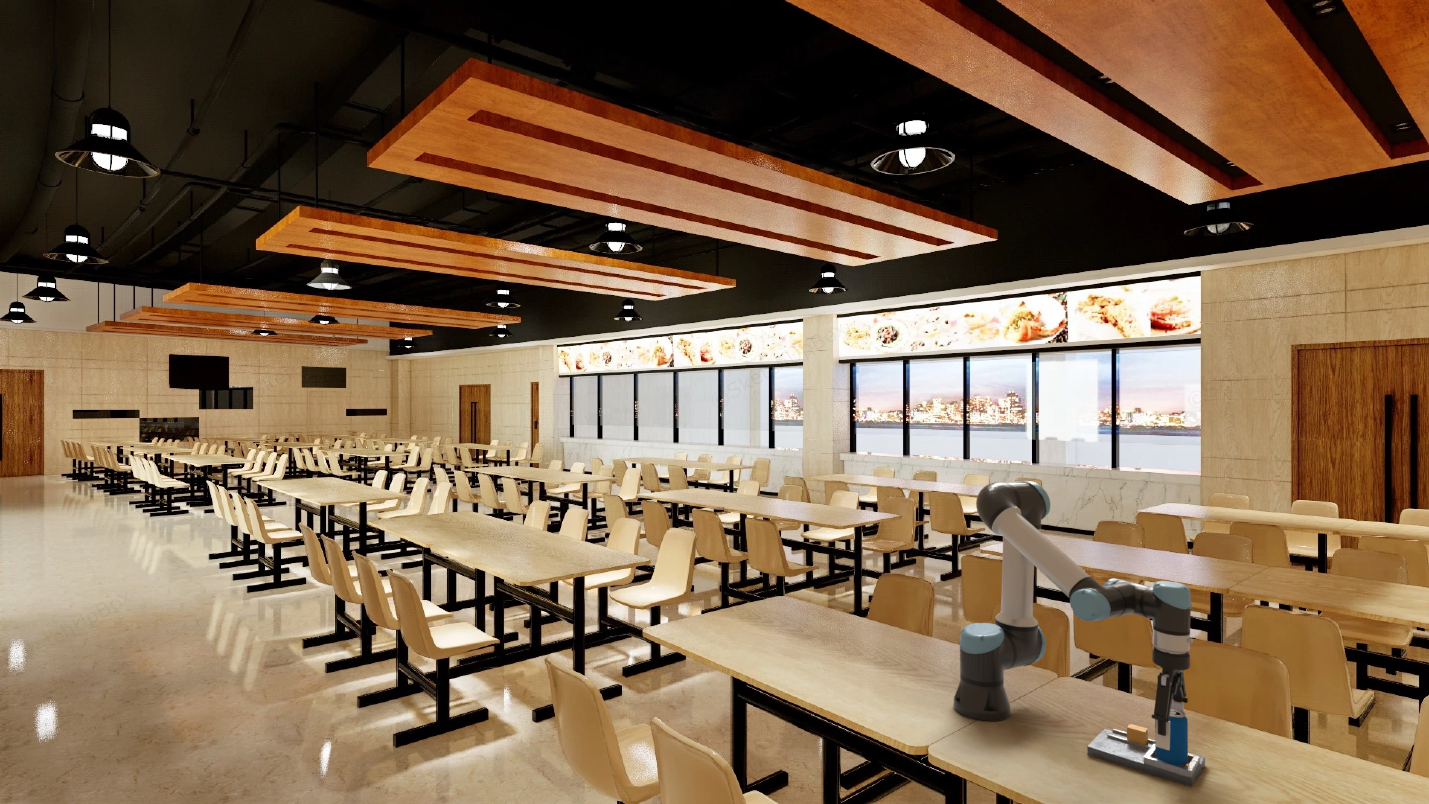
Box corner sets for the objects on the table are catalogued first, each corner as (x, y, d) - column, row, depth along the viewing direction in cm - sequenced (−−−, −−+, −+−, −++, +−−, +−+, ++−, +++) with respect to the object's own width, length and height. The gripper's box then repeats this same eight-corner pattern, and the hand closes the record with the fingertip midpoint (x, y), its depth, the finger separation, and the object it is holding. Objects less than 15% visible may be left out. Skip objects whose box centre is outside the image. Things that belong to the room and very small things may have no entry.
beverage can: (1192, 770, 165) (1192, 718, 165) (1162, 767, 166) (1161, 716, 167) (1180, 757, 172) (1180, 707, 172) (1150, 754, 173) (1150, 704, 173)
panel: (1087, 754, 177) (1087, 740, 177) (1104, 736, 187) (1104, 722, 187) (1192, 787, 162) (1191, 772, 162) (1204, 765, 172) (1204, 751, 172)
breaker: (1126, 739, 180) (1126, 727, 180) (1130, 736, 182) (1130, 723, 182) (1145, 745, 177) (1144, 732, 177) (1148, 741, 179) (1147, 728, 179)
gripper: (1177, 667, 158) (1175, 762, 158) (1201, 640, 176) (1199, 726, 176) (1138, 658, 163) (1137, 750, 163) (1165, 633, 181) (1164, 716, 181)
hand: (1169, 738), depth 169 cm, fingers open, 13 cm apart
